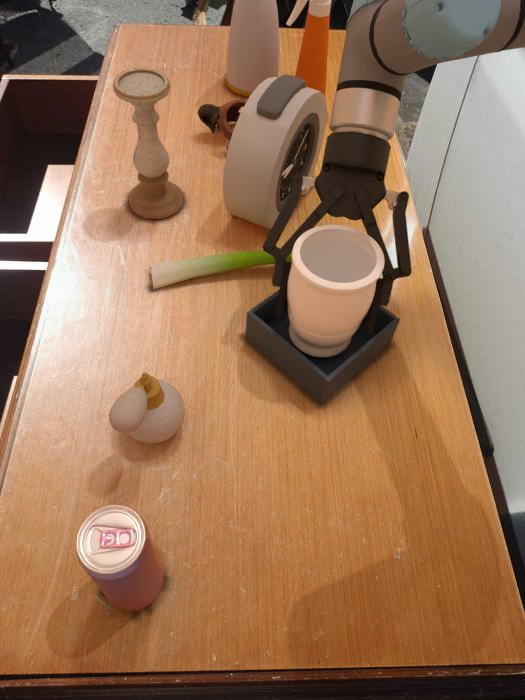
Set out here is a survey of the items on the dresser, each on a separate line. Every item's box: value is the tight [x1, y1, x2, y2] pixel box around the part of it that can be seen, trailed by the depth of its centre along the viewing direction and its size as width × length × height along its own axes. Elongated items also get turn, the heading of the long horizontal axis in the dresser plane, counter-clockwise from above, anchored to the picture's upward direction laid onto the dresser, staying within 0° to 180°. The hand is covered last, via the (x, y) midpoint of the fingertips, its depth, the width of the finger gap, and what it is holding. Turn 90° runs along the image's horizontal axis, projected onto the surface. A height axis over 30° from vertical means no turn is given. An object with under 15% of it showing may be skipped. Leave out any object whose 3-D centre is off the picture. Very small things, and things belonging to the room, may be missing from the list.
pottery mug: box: [197, 98, 248, 151], centre depth 100 cm, size 12×10×8 cm
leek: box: [149, 249, 293, 290], centre depth 82 cm, size 6×7×30 cm
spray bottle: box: [285, 0, 332, 97], centre depth 96 cm, size 7×11×26 cm, turn 132°
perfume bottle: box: [108, 371, 186, 445], centre depth 62 cm, size 8×10×12 cm
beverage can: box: [75, 504, 164, 612], centre depth 52 cm, size 6×6×15 cm
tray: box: [245, 288, 401, 405], centre depth 74 cm, size 14×14×6 cm
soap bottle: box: [224, 0, 280, 98], centre depth 103 cm, size 11×12×26 cm
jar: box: [287, 224, 384, 357], centre depth 69 cm, size 11×10×15 cm
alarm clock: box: [221, 73, 328, 231], centre depth 85 cm, size 21×8×20 cm, turn 153°
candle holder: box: [112, 67, 184, 220], centre depth 83 cm, size 9×9×20 cm
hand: (323, 322), depth 69 cm, fingers closed on jar, 11 cm apart
